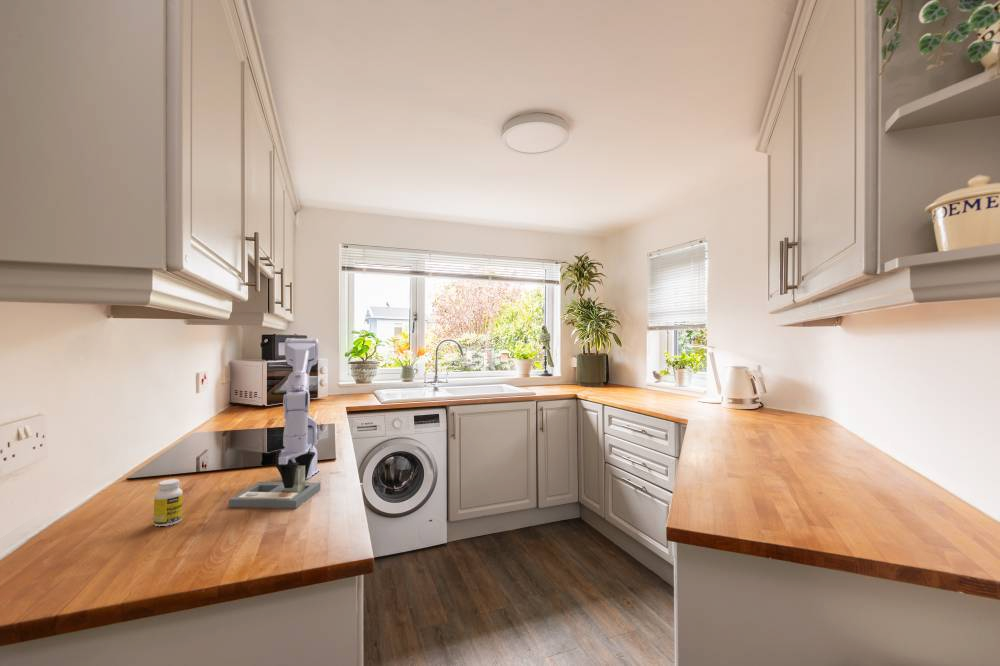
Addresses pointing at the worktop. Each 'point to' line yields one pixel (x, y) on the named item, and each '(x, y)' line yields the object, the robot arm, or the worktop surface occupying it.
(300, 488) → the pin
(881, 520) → the worktop surface
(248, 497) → the board
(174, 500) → the supplement bottle
